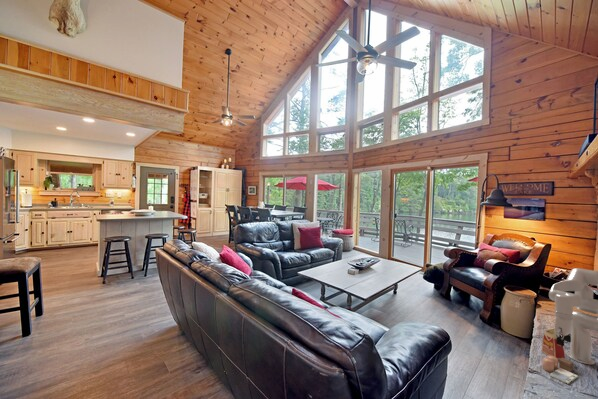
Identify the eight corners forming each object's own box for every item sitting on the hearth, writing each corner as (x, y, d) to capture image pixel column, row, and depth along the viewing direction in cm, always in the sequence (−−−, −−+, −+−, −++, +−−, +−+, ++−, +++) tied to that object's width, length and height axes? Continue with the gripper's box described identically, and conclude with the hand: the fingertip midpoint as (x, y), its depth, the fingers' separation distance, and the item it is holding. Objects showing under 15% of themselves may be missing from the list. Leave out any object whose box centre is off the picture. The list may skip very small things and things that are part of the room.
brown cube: (562, 365, 164) (562, 357, 164) (573, 369, 159) (573, 362, 160) (559, 367, 162) (559, 359, 162) (570, 372, 157) (570, 364, 157)
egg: (544, 366, 162) (544, 357, 162) (555, 371, 158) (555, 361, 158) (541, 368, 160) (541, 359, 160) (551, 373, 156) (551, 363, 156)
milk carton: (552, 351, 179) (552, 323, 179) (566, 359, 170) (566, 330, 170) (539, 351, 179) (540, 323, 179) (553, 359, 170) (553, 330, 170)
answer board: (559, 369, 160) (559, 367, 160) (577, 377, 153) (577, 375, 153) (549, 375, 154) (549, 373, 154) (568, 384, 146) (568, 382, 146)
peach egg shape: (549, 363, 165) (549, 354, 165) (559, 368, 161) (559, 358, 161) (545, 365, 163) (545, 356, 163) (556, 370, 159) (556, 360, 159)
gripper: (561, 310, 161) (561, 336, 160) (549, 315, 153) (549, 343, 153) (578, 315, 154) (578, 342, 154) (566, 320, 146) (566, 349, 146)
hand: (563, 343), depth 153 cm, fingers open, 9 cm apart
